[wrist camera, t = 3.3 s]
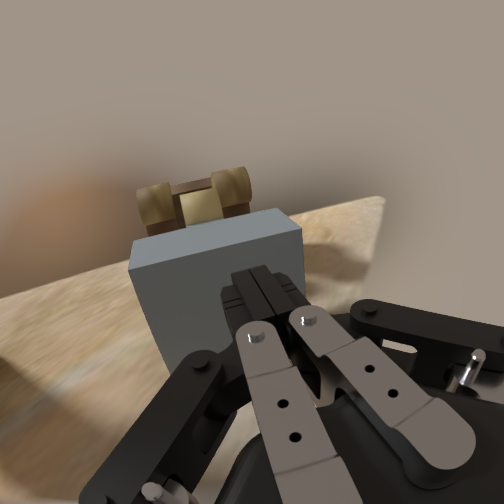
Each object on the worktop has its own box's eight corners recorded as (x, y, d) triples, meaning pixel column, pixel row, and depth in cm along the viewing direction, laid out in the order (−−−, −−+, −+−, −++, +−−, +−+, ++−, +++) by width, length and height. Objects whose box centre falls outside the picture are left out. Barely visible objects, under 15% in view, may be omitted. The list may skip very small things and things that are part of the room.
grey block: (172, 379, 19) (118, 241, 15) (166, 314, 26) (132, 202, 22) (306, 342, 21) (300, 200, 17) (271, 288, 28) (257, 174, 23)
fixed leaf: (165, 299, 29) (135, 194, 24) (163, 263, 36) (141, 177, 31) (262, 275, 31) (248, 169, 26) (242, 244, 38) (229, 158, 33)
